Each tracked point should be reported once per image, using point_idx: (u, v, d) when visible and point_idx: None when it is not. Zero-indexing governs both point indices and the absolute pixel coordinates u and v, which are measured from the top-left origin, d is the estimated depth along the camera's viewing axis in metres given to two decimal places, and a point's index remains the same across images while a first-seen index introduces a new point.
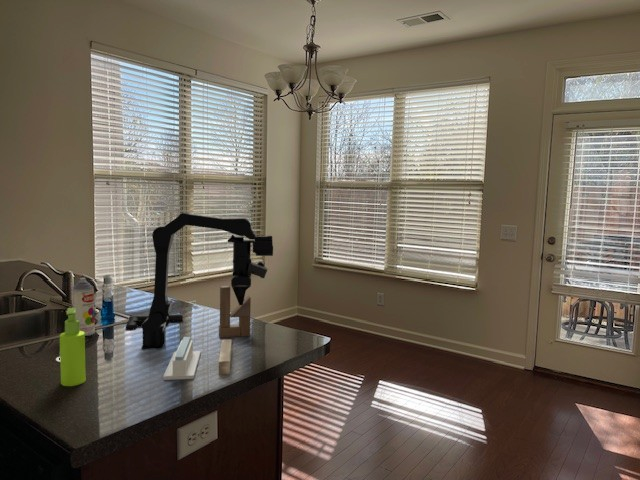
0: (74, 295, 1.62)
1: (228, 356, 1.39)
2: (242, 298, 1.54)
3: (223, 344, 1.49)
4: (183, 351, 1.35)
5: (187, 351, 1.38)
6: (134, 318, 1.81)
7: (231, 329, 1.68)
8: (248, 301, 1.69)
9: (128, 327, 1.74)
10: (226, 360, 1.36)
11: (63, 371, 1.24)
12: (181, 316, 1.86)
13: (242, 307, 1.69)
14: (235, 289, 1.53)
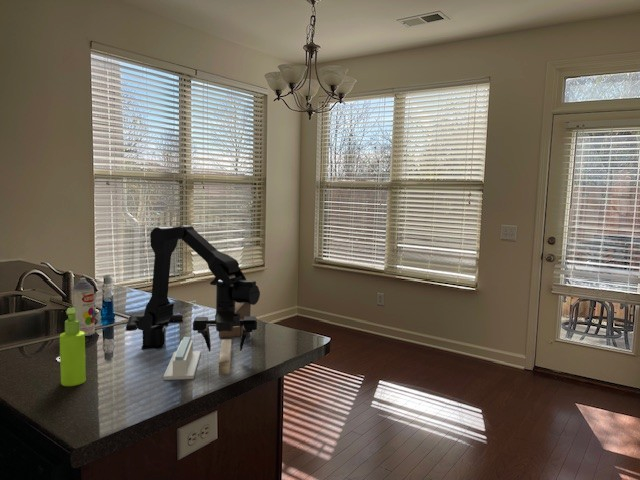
0: (74, 295, 1.62)
1: (228, 356, 1.39)
2: None
3: (223, 344, 1.49)
4: (183, 351, 1.35)
5: (187, 351, 1.38)
6: (134, 318, 1.81)
7: None
8: None
9: (128, 327, 1.74)
10: (226, 360, 1.36)
11: (63, 371, 1.24)
12: (181, 316, 1.86)
13: (242, 307, 1.69)
14: None
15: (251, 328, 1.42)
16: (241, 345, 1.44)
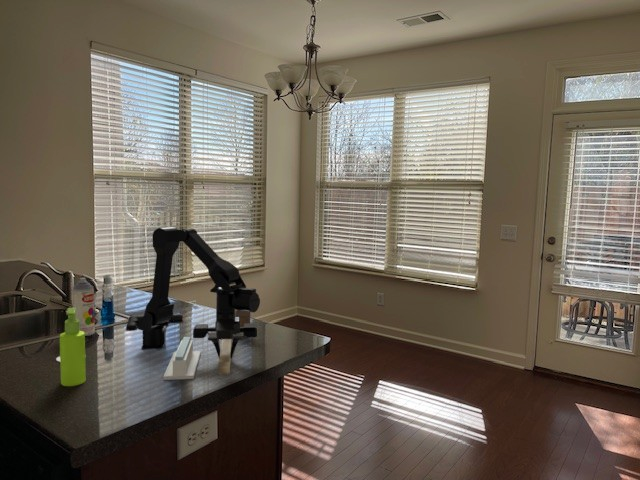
0: (74, 295, 1.62)
1: (228, 356, 1.39)
2: None
3: (223, 344, 1.49)
4: (183, 351, 1.35)
5: (187, 351, 1.38)
6: (134, 318, 1.80)
7: None
8: None
9: (129, 327, 1.73)
10: (226, 360, 1.36)
11: (63, 371, 1.24)
12: (181, 316, 1.87)
13: None
14: None
15: (251, 335, 1.42)
16: (231, 352, 1.44)
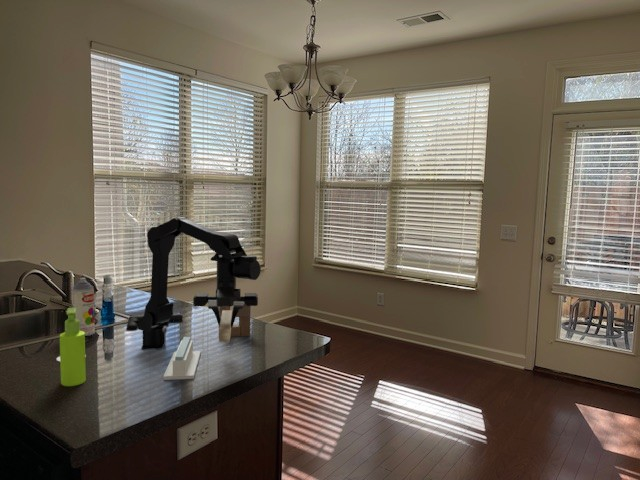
0: (74, 295, 1.62)
1: (229, 324, 1.38)
2: (217, 320, 1.43)
3: (224, 314, 1.48)
4: (183, 351, 1.35)
5: (187, 351, 1.38)
6: (134, 318, 1.80)
7: (231, 329, 1.68)
8: None
9: (129, 327, 1.73)
10: (226, 327, 1.35)
11: (63, 371, 1.24)
12: (181, 316, 1.87)
13: None
14: None
15: (252, 304, 1.41)
16: (232, 322, 1.43)
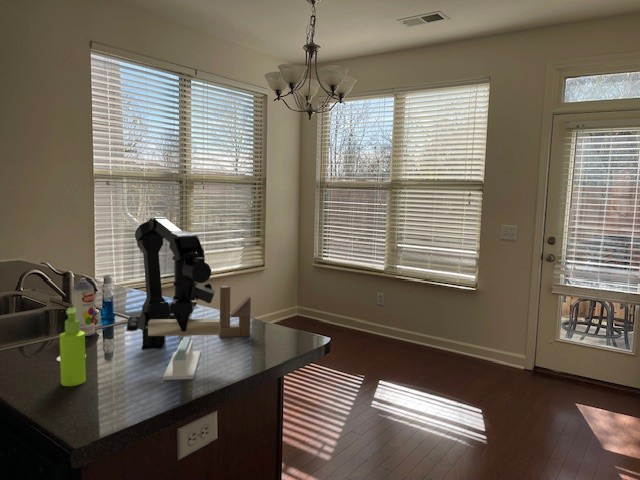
0: (74, 295, 1.62)
1: (206, 319, 1.41)
2: (185, 324, 1.37)
3: (166, 321, 1.38)
4: (183, 351, 1.35)
5: (187, 351, 1.38)
6: (134, 319, 1.80)
7: (231, 329, 1.68)
8: (248, 301, 1.69)
9: (129, 327, 1.73)
10: (217, 319, 1.41)
11: (63, 371, 1.24)
12: None
13: (242, 307, 1.69)
14: (176, 314, 1.35)
15: None
16: None
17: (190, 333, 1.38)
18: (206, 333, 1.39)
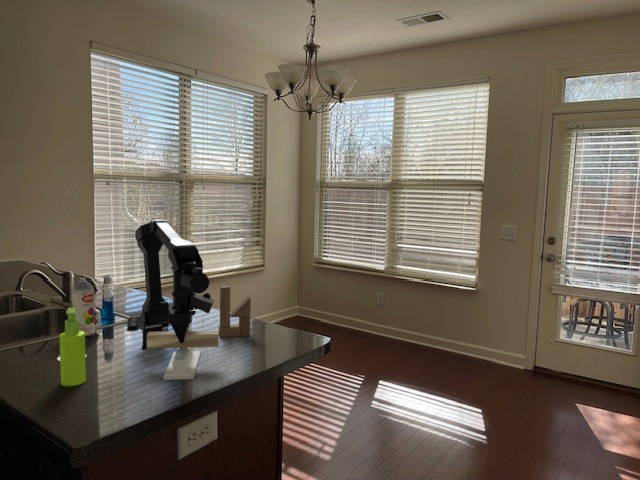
0: (74, 295, 1.62)
1: (204, 331, 1.41)
2: (183, 335, 1.35)
3: (165, 333, 1.38)
4: (183, 351, 1.35)
5: (187, 351, 1.38)
6: (134, 319, 1.80)
7: (231, 329, 1.68)
8: (248, 301, 1.69)
9: (130, 328, 1.73)
10: (215, 331, 1.41)
11: (63, 371, 1.24)
12: None
13: (242, 307, 1.69)
14: (174, 325, 1.34)
15: None
16: (187, 329, 1.43)
17: (189, 345, 1.38)
18: (205, 345, 1.39)
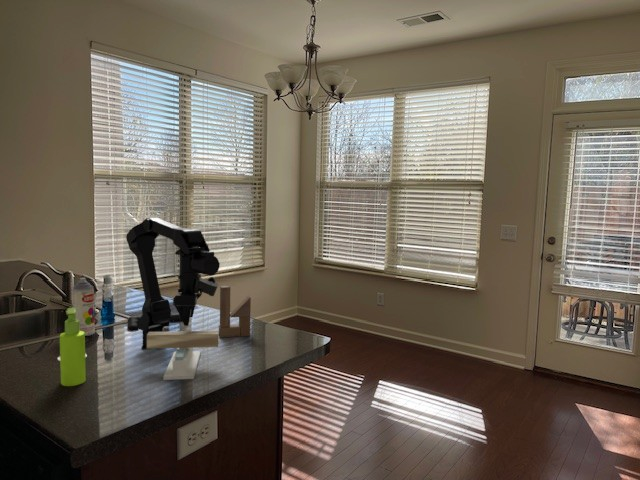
0: (74, 295, 1.62)
1: (204, 331, 1.41)
2: (187, 318, 1.40)
3: (165, 333, 1.38)
4: (183, 351, 1.35)
5: (187, 351, 1.38)
6: (134, 319, 1.80)
7: (231, 329, 1.68)
8: (248, 301, 1.69)
9: (131, 328, 1.73)
10: (215, 331, 1.41)
11: (63, 371, 1.24)
12: None
13: (242, 307, 1.69)
14: (179, 308, 1.38)
15: None
16: (193, 311, 1.50)
17: (189, 345, 1.38)
18: (205, 345, 1.39)
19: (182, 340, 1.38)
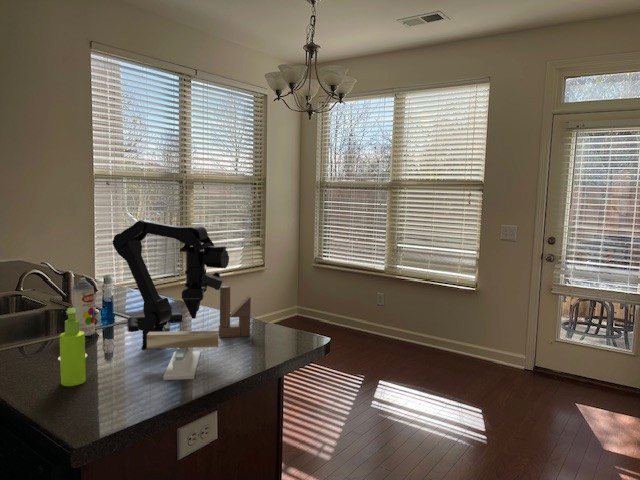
0: (74, 295, 1.62)
1: (204, 331, 1.41)
2: (194, 311, 1.47)
3: (165, 333, 1.38)
4: (183, 351, 1.35)
5: (187, 351, 1.38)
6: (134, 319, 1.79)
7: (231, 329, 1.68)
8: (248, 301, 1.69)
9: (131, 328, 1.72)
10: (215, 331, 1.41)
11: (63, 371, 1.24)
12: (181, 315, 1.87)
13: (242, 307, 1.69)
14: (187, 302, 1.45)
15: (207, 285, 1.59)
16: (199, 305, 1.57)
17: (189, 345, 1.38)
18: (205, 345, 1.39)
19: (182, 340, 1.38)
